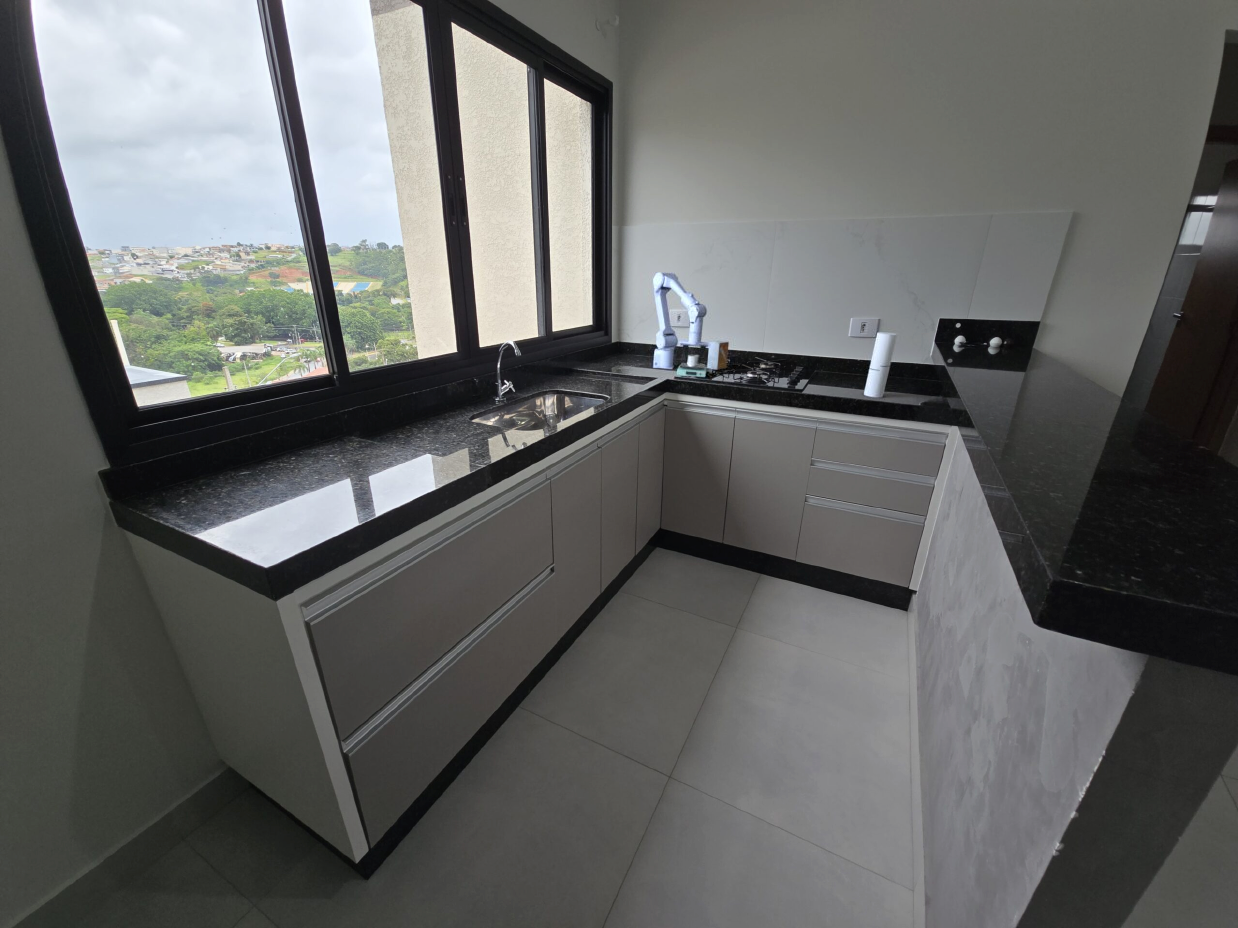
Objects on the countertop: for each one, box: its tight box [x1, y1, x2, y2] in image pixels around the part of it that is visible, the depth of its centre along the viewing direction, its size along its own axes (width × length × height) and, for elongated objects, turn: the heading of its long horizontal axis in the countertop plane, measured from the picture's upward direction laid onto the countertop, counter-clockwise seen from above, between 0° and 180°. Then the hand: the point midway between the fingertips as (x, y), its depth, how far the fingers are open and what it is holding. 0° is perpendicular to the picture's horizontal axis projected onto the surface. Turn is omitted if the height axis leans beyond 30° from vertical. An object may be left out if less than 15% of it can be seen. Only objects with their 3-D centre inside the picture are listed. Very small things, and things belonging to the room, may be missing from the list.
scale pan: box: [679, 362, 706, 369], centre depth 236 cm, size 11×9×1 cm
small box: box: [706, 340, 730, 370], centre depth 251 cm, size 8×6×13 cm
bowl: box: [686, 354, 700, 366], centre depth 235 cm, size 5×5×4 cm
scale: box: [676, 365, 708, 378], centre depth 237 cm, size 13×11×2 cm
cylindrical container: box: [863, 331, 898, 398], centre depth 204 cm, size 7×7×25 cm
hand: (692, 362), depth 235 cm, fingers closed on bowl, 5 cm apart
